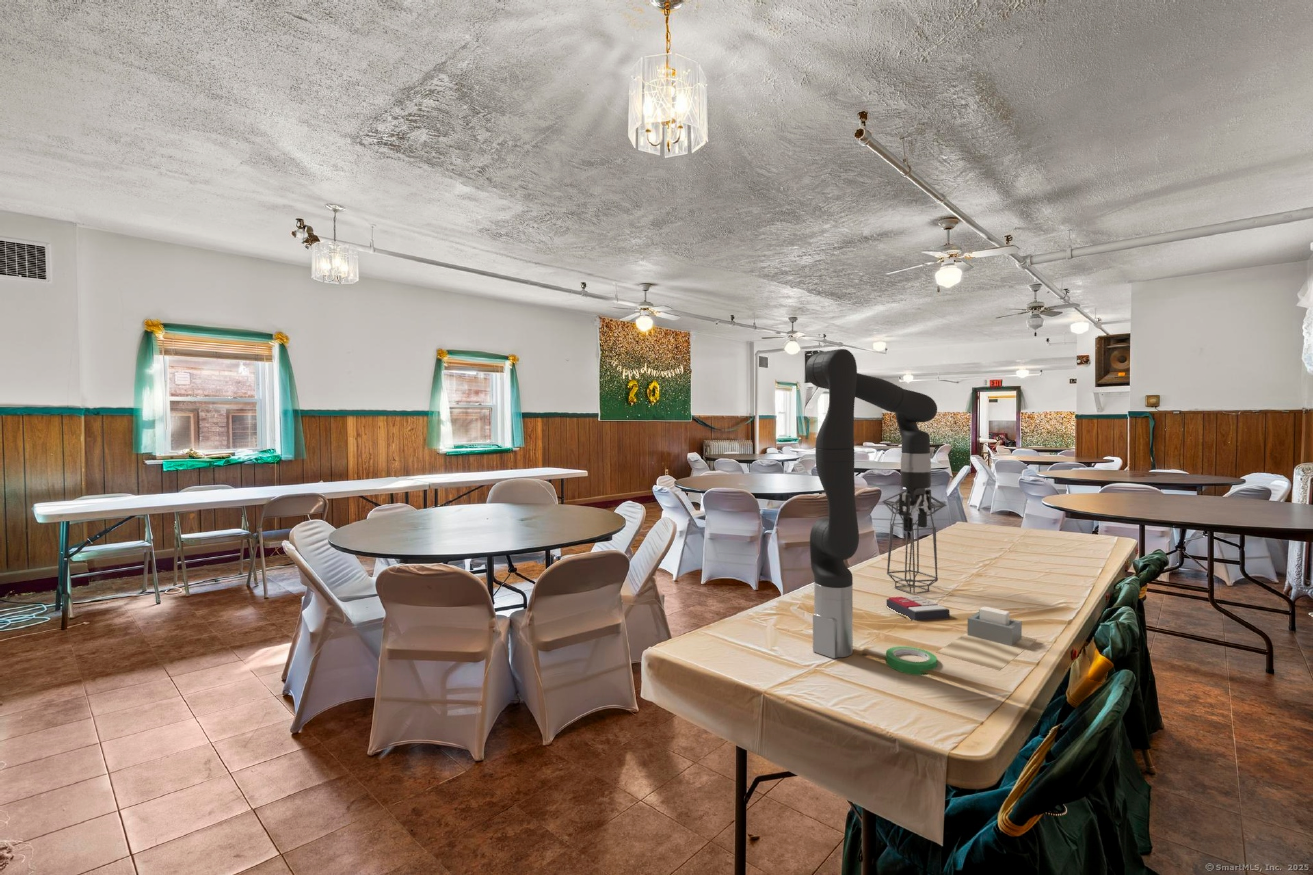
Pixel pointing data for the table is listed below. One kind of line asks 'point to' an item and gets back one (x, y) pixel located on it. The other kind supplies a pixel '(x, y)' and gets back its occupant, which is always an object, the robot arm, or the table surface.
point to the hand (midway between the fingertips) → (915, 529)
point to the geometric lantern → (912, 546)
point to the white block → (994, 615)
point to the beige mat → (985, 651)
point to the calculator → (918, 608)
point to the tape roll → (910, 666)
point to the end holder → (995, 630)
